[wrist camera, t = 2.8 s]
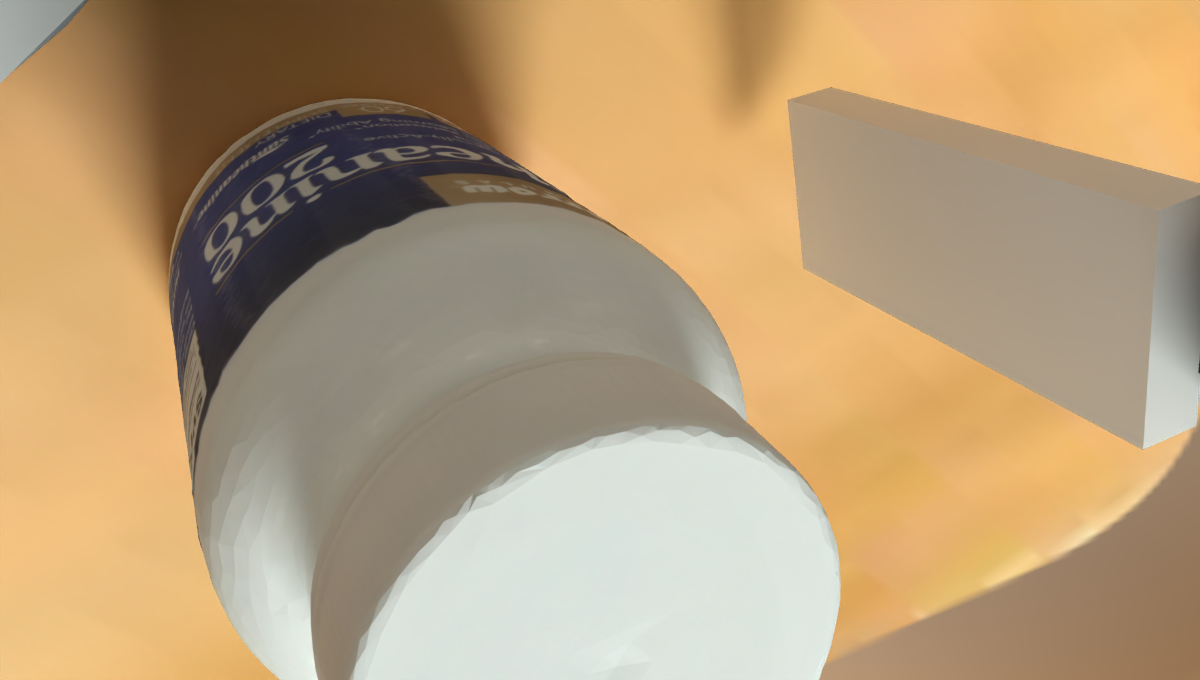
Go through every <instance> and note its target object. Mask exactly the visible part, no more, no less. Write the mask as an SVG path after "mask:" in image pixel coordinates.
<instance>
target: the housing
mask: <svg viewBox="0 0 1200 680" xmlns="http://www.w3.org/2000/svg"><path fill="white" fill-rule="evenodd" d="M87 1H88V0H0V83H1V82H2V81H3V80H4V79H5V78H6V77H7V76H8V75H9V74H10V73H12V72H13V71H14V70H15V69H16V68H18V67H19V66H20V65H21V64H22V63H23V62H25V61H26V60H27V59H28V58H29V57H30V56H32V55H33V54H34V53H35V52H36V51H37V50H39V49H40V48H41V47H42V46H43V45H44V44H46V43H47V42H48V41H49V40H50V39H51V38H53V37H54V36H55V35H56V34H57V33H58V32H60V31H61V30H62V29H63V28H64V27H65V26H66V25H67V24H68V23H69V22H70V21H71V20H72V18H73V17H74V16H75V15H76V14H77V13H78V11H79V10H80V9H81V8H82V7H83V6H84V5H85V3H86V2H87Z"/></svg>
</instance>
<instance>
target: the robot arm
mask: <svg viewBox="0 0 1200 680" xmlns="http://www.w3.org/2000/svg"><path fill="white" fill-rule="evenodd" d="M788 110H789V120H790V131H791V142H792V153H793V163H794V174H795V185H796V195H797V206H798V217H799V228H800V238H801V249H802V260H803V268H804V269H806V270H807V271H809V272H811V273H813V274H815V275H817V276H819V277H821V278H822V279H824V280H826V281H828V282H830V283H832V284H834V285H836V286H837V287H839V288H841V289H843V290H845V291H847V292H849V293H851V294H852V295H854V296H856V297H858V298H860V299H862V300H864V301H865V302H867V303H869V304H871V305H873V306H875V307H877V308H879V309H880V310H882V311H884V312H886V313H888V314H890V315H892V316H894V317H895V318H897V319H899V320H901V321H903V322H905V323H907V324H908V325H910V326H912V327H914V328H916V329H918V330H920V331H922V332H923V333H925V334H927V335H929V336H931V337H933V338H935V339H937V340H938V341H940V342H942V343H944V344H946V345H948V346H950V347H952V348H953V349H955V350H957V351H959V352H961V353H963V354H965V355H966V356H968V357H970V358H972V359H974V360H976V361H978V362H980V363H981V364H983V365H985V366H987V367H989V368H991V369H993V370H995V371H996V372H998V373H1000V374H1002V375H1004V376H1006V377H1008V378H1010V379H1011V380H1013V381H1015V382H1017V383H1019V384H1021V385H1023V386H1024V387H1026V388H1028V389H1030V390H1032V391H1034V392H1036V393H1038V394H1039V395H1041V396H1043V397H1045V398H1047V399H1049V400H1051V401H1053V402H1054V403H1056V404H1058V405H1060V406H1062V407H1064V408H1066V409H1068V410H1069V411H1071V412H1073V413H1075V414H1077V415H1079V416H1081V417H1082V418H1084V419H1086V420H1088V421H1090V422H1092V423H1094V424H1096V425H1097V426H1099V427H1101V428H1103V429H1105V430H1107V431H1109V432H1111V433H1112V434H1114V435H1116V436H1118V437H1120V438H1122V439H1124V440H1126V441H1127V442H1129V443H1131V444H1133V445H1135V446H1137V447H1139V448H1140V449H1142V450H1144V449H1146V448H1148V447H1151V446H1153V445H1155V444H1157V443H1159V442H1162V441H1164V440H1166V439H1168V438H1170V437H1173V436H1175V435H1177V434H1179V433H1182V432H1184V431H1186V430H1188V429H1190V428H1193V427H1195V426H1196V424H1197V413H1198V402H1199V391H1200V183H1196V182H1192V181H1188V180H1185V179H1181V178H1177V177H1173V176H1169V175H1165V174H1162V173H1158V172H1154V171H1150V170H1146V169H1142V168H1139V167H1135V166H1131V165H1127V164H1123V163H1119V162H1116V161H1112V160H1108V159H1104V158H1100V157H1096V156H1093V155H1089V154H1085V153H1081V152H1077V151H1073V150H1070V149H1066V148H1062V147H1058V146H1054V145H1050V144H1047V143H1043V142H1039V141H1035V140H1031V139H1027V138H1023V137H1020V136H1016V135H1012V134H1008V133H1004V132H1000V131H997V130H993V129H989V128H985V127H981V126H977V125H974V124H970V123H966V122H962V121H958V120H954V119H951V118H947V117H943V116H939V115H935V114H931V113H928V112H924V111H920V110H916V109H912V108H908V107H905V106H901V105H897V104H893V103H889V102H885V101H882V100H878V99H874V98H870V97H866V96H862V95H859V94H855V93H851V92H847V91H843V90H839V89H836V88H832V87H830V88H827V89H823V90H820V91H817V92H813V93H810V94H806V95H803V96H800V97H796V98H793V99H789V100H788Z"/></svg>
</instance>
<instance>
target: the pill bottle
mask: <svg viewBox="0 0 1200 680" xmlns="http://www.w3.org/2000/svg"><path fill="white" fill-rule="evenodd" d="M169 303H170V315H171V324H172V330H173V336H174V344H175V350H176V360H177V368H178V380H179V387H180V394H181V403H182V411H183V419H184V429H185V436H186V442H187V448H188V456H189V466H190V473H191V479H192V494H193V499H194V506H195V514H196V522H197V529H198V537H199V541H200V545H201V548H202V551H203V553H204V557H205V560H206V564H207V567H208V571H209V574H210V578H211V581H212V584H213V587H214V589H215V591H216V593H217V595H218V598H219V600H220V602H221V604H222V606H223V608H224V610H225V612H226V614H227V616H228V618H229V620H230V622H231V623H232V625H233V627H234V628H235V630H236V632H237V633H238V635H239V636H240V637H241V639H242V640H243V641H244V643H245V644H246V645H247V647H248V648H249V649H250V651H251V652H252V653H253V654H254V655H255V656H256V657H257V658H258V659H259V660H260V662H261V663H262V664H263V665H265V666H266V667H267V668H268V669H269V670H270V671H271V672H272V673H273V674H274V675H275V676H276V677H277V678H279V679H280V680H819V678H820V675H821V671H822V668H823V666H824V664H825V661H826V659H827V656H828V653H829V651H830V647H831V643H832V638H833V634H834V630H835V625H836V621H837V615H838V610H839V604H840V564H839V556H838V549H837V543H836V540H835V537H834V534H833V531H832V528H831V526H830V523H829V520H828V518H827V515H826V512H825V510H824V508H823V506H822V504H821V503H820V501H819V499H818V497H817V496H816V494H815V493H814V491H813V490H812V488H811V487H810V485H809V484H808V482H807V481H806V480H805V479H804V478H803V476H802V475H801V474H800V473H799V472H798V471H797V469H796V468H795V467H794V466H793V465H792V464H791V463H790V462H789V461H788V460H787V459H786V458H785V457H784V456H783V455H782V454H780V453H779V452H778V451H777V450H776V449H775V448H774V447H773V446H772V445H771V444H770V443H769V442H768V441H767V440H765V439H764V438H763V437H762V436H761V435H760V434H759V433H758V432H757V431H756V430H755V429H754V428H753V427H752V426H750V425H749V424H748V423H747V417H746V409H745V402H744V395H743V391H742V386H741V382H740V377H739V374H738V371H737V368H736V365H735V362H734V359H733V356H732V354H731V352H730V349H729V347H728V345H727V342H726V340H725V338H724V336H723V334H722V333H721V331H720V329H719V327H718V325H717V323H716V322H715V320H714V318H713V317H712V315H711V313H710V312H709V311H708V309H707V308H706V307H705V305H704V304H703V303H702V301H701V300H700V299H699V297H698V296H697V295H696V293H695V292H694V291H693V290H692V289H691V287H690V286H689V285H688V284H687V283H686V282H685V281H684V280H683V279H682V278H681V277H680V276H679V275H678V274H677V273H676V272H675V271H674V270H672V269H671V268H670V267H669V266H668V265H666V264H665V263H664V262H663V261H662V260H661V259H659V258H658V257H657V256H655V255H654V254H653V253H651V252H650V251H649V250H648V249H646V248H645V247H644V246H642V245H641V244H639V243H638V242H636V241H635V240H633V239H632V238H630V237H629V236H628V235H627V234H626V233H624V232H622V231H620V230H619V229H617V228H616V227H615V226H613V225H612V224H611V223H609V222H607V221H606V220H604V219H602V218H601V217H599V216H597V215H596V214H594V213H593V212H591V211H590V210H588V209H587V208H585V207H584V206H582V205H580V204H578V203H576V202H575V201H573V200H572V199H571V198H570V197H569V196H568V195H567V194H565V193H564V192H562V191H561V190H559V189H557V188H556V187H554V186H552V185H551V184H549V183H547V182H546V181H544V180H543V179H541V178H540V177H538V176H537V175H535V174H534V173H532V172H530V171H529V170H527V169H526V168H524V167H522V166H521V165H519V164H518V163H516V162H515V161H514V160H512V159H510V158H508V157H507V156H505V155H504V154H502V153H501V152H499V151H498V150H496V149H495V148H493V147H492V146H490V145H488V144H487V143H485V142H484V141H482V140H480V139H479V138H477V137H476V136H474V135H473V134H471V133H470V132H468V131H466V130H464V129H462V128H460V127H458V126H457V125H455V124H453V123H452V122H450V121H448V120H446V119H445V118H442V117H440V116H438V115H435V114H433V113H431V112H428V111H426V110H423V109H421V108H418V107H415V106H411V105H408V104H404V103H399V102H394V101H390V100H381V99H360V98H346V99H337V100H327V101H322V102H318V103H313V104H310V105H306V106H303V107H300V108H298V109H295V110H292V111H289V112H287V113H284V114H281V115H279V116H276V117H274V118H272V119H270V120H268V121H267V122H265V123H264V124H262V125H261V126H259V127H258V128H256V129H254V130H253V131H251V132H250V133H249V134H247V135H246V136H243V137H241V138H240V139H239V140H237V141H236V142H235V143H233V144H232V145H231V146H230V147H229V148H228V149H227V150H226V152H225V153H224V154H223V155H221V156H220V157H219V158H218V159H217V160H216V161H215V162H214V163H213V164H212V165H211V167H210V168H209V169H208V170H207V171H206V173H205V174H204V176H203V177H202V179H201V180H200V181H199V183H198V184H197V186H196V187H195V189H194V191H193V192H192V194H191V196H190V198H189V200H188V202H187V204H186V205H185V207H184V209H183V212H182V215H181V218H180V221H179V224H178V227H177V230H176V234H175V238H174V242H173V246H172V250H171V255H170V267H169Z"/></svg>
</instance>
